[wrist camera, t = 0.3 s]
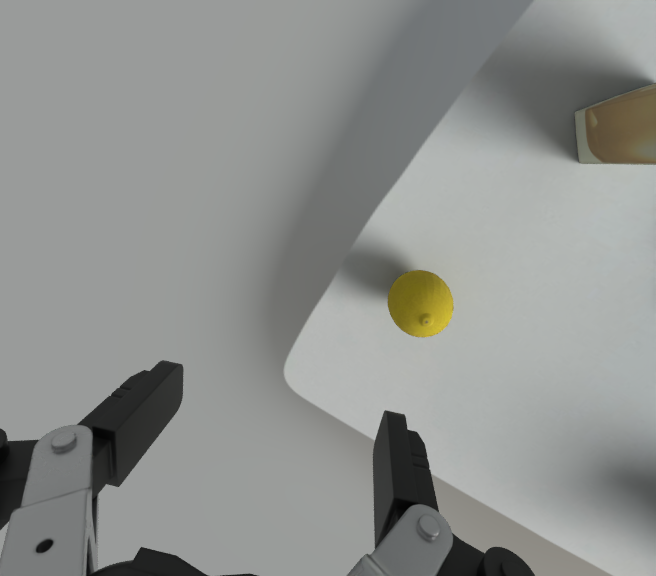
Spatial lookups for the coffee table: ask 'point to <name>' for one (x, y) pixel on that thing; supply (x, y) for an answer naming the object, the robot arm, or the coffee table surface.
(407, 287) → the lemon
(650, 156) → the cosmetic box
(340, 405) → the coffee table surface
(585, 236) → the coffee table surface
